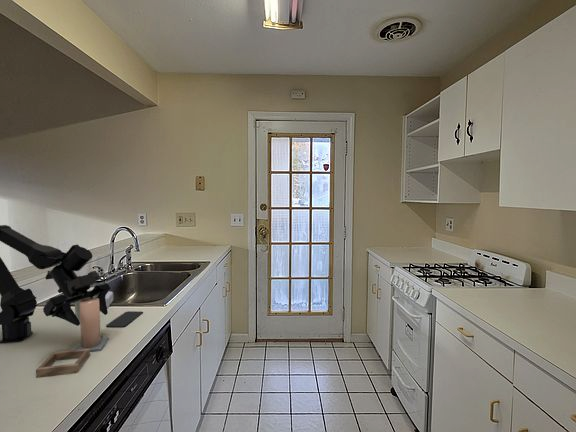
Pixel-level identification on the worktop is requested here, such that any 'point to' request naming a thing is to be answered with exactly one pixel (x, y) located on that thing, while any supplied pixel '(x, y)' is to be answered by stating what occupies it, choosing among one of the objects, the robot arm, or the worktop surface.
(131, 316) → the phone
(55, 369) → the holder
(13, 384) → the worktop surface
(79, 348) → the mat
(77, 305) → the skincare box
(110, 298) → the charger
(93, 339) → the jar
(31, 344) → the worktop surface
